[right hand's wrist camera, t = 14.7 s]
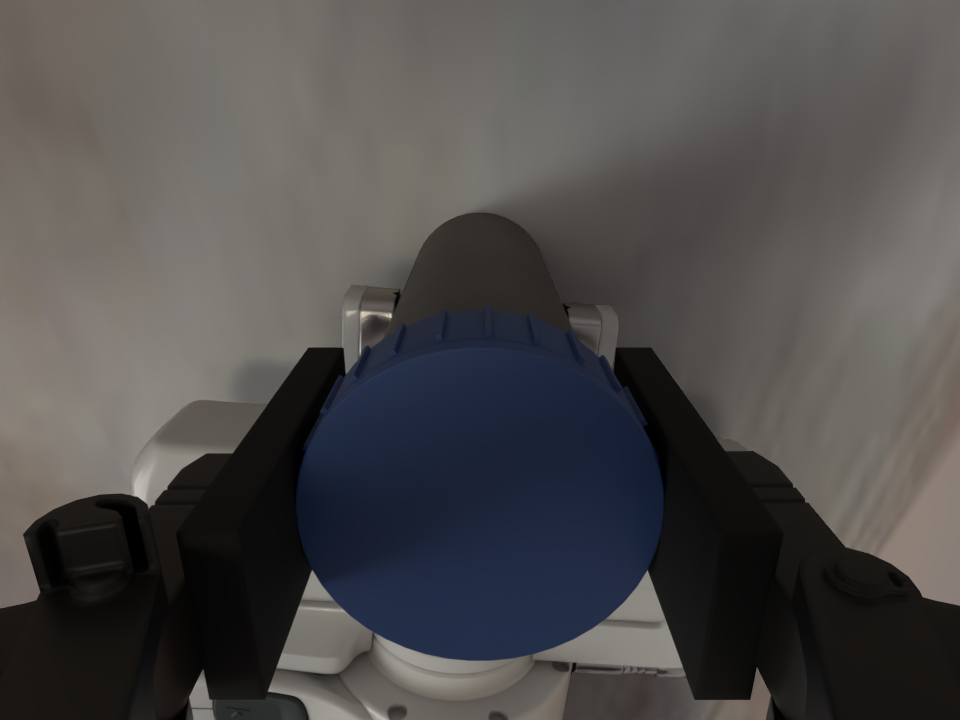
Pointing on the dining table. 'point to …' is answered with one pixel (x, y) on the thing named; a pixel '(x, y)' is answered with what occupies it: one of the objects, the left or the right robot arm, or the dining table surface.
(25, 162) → the dining table surface
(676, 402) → the right robot arm
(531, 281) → the jar
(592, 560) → the lid
